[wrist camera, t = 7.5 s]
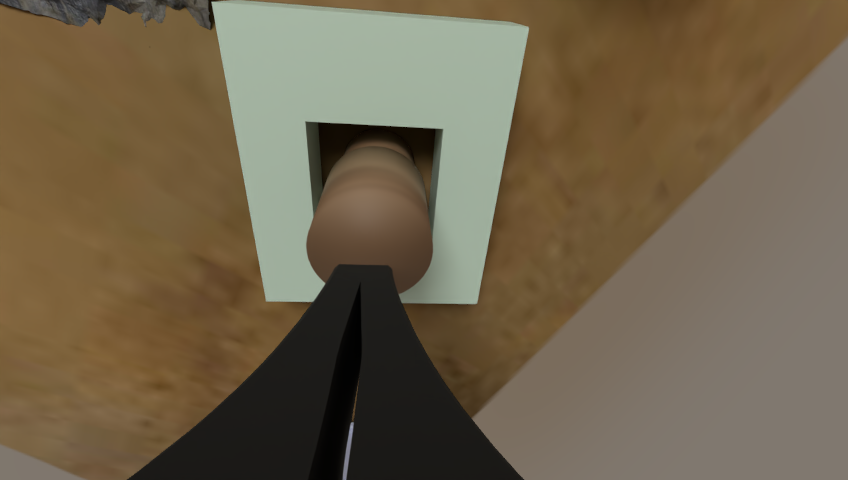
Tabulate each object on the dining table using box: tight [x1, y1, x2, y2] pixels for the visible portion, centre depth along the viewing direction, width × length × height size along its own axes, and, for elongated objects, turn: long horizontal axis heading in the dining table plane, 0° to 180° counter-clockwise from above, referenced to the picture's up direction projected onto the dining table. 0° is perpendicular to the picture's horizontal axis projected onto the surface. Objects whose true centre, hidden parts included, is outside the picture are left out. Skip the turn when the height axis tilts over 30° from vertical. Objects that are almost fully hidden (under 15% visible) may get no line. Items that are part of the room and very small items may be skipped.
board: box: [212, 0, 529, 304], centre depth 17 cm, size 12×10×2 cm
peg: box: [306, 129, 433, 294], centre depth 15 cm, size 4×4×7 cm
